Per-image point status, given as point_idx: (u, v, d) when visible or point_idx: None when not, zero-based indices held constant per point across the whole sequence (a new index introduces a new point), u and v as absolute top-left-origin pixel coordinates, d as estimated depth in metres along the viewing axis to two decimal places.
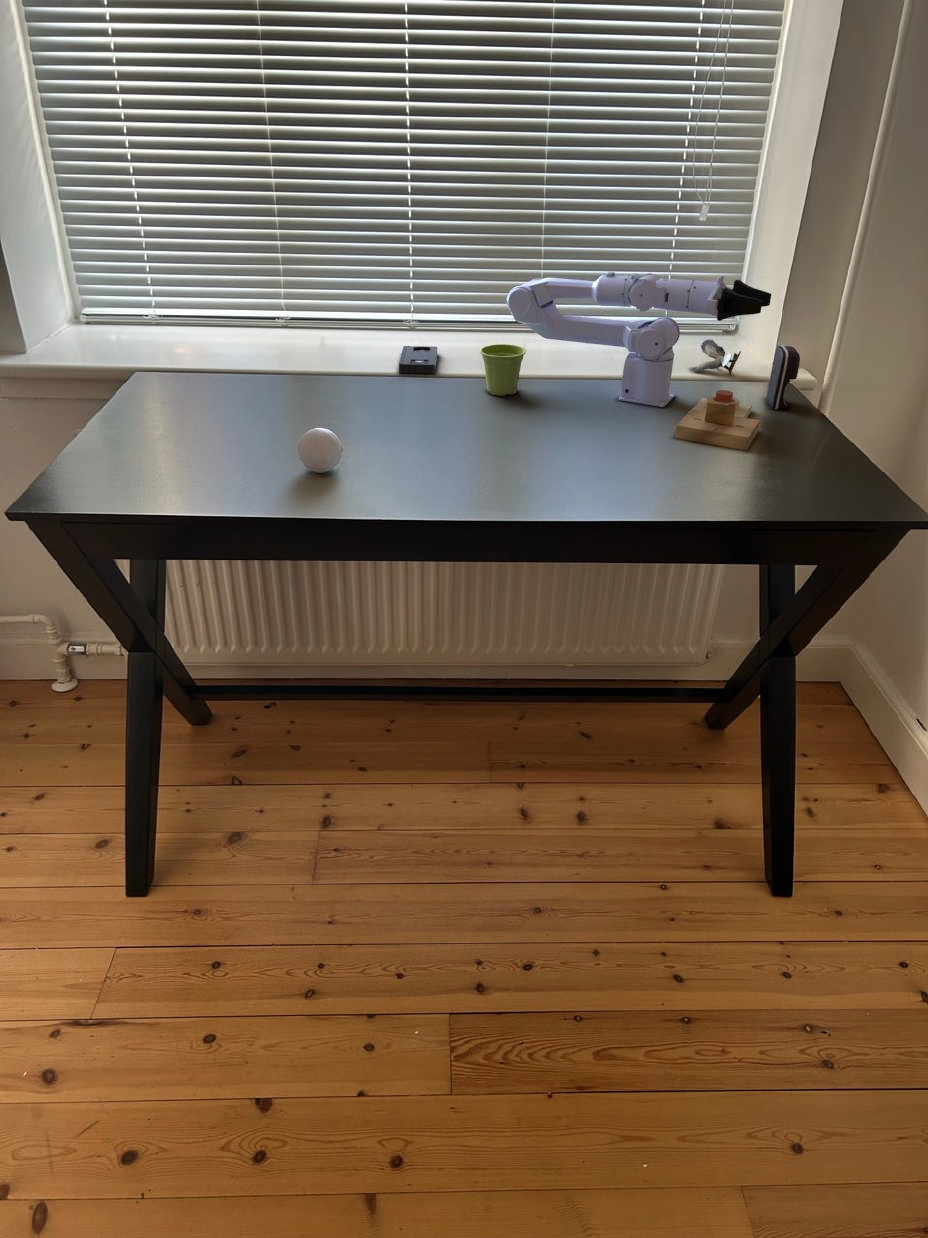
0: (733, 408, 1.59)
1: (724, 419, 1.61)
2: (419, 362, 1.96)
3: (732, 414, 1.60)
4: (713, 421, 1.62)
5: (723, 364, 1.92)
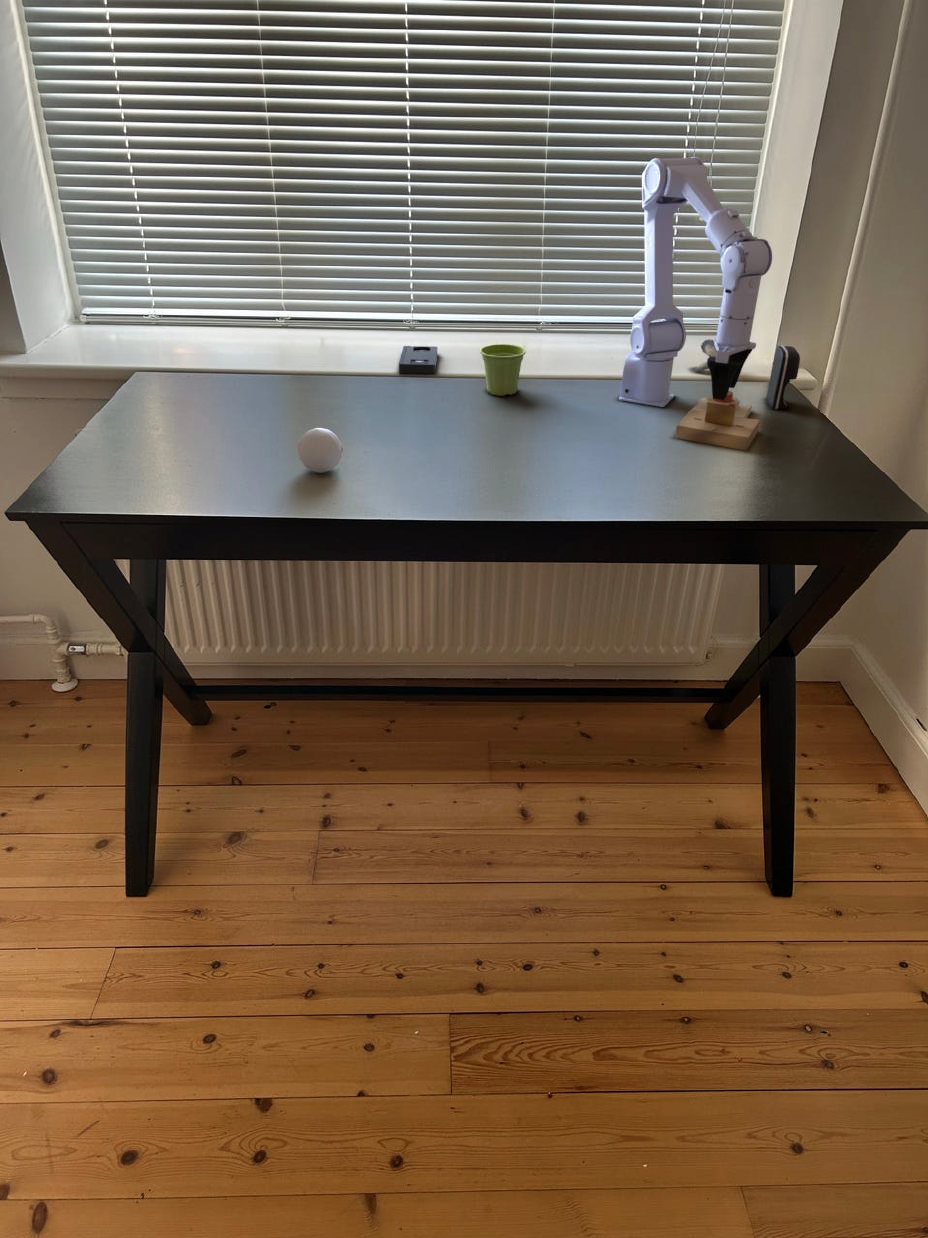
0: (733, 408, 1.59)
1: (724, 419, 1.61)
2: (419, 362, 1.96)
3: (732, 414, 1.60)
4: (713, 421, 1.62)
5: None
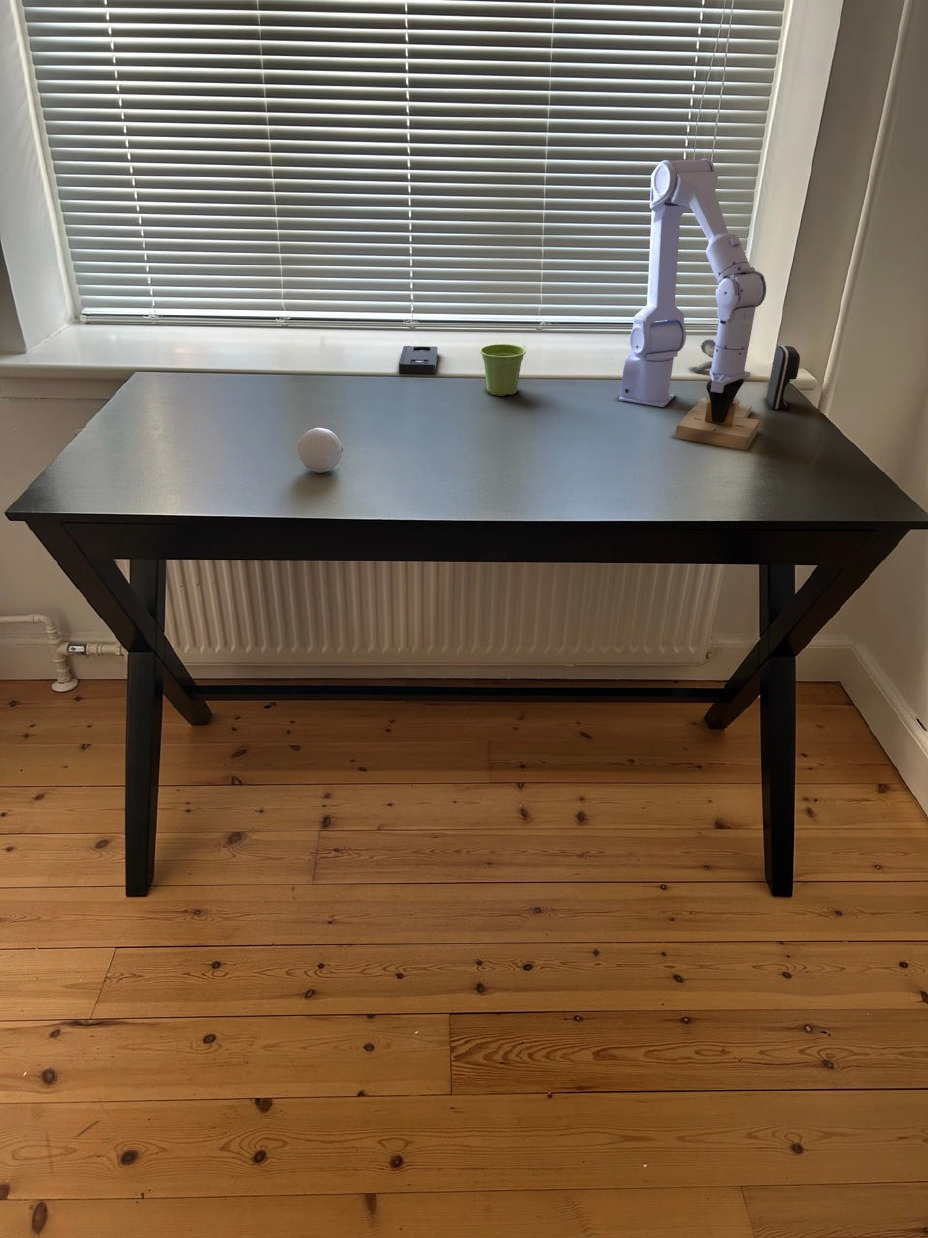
0: (733, 408, 1.59)
1: None
2: (419, 362, 1.96)
3: (732, 414, 1.60)
4: None
5: None
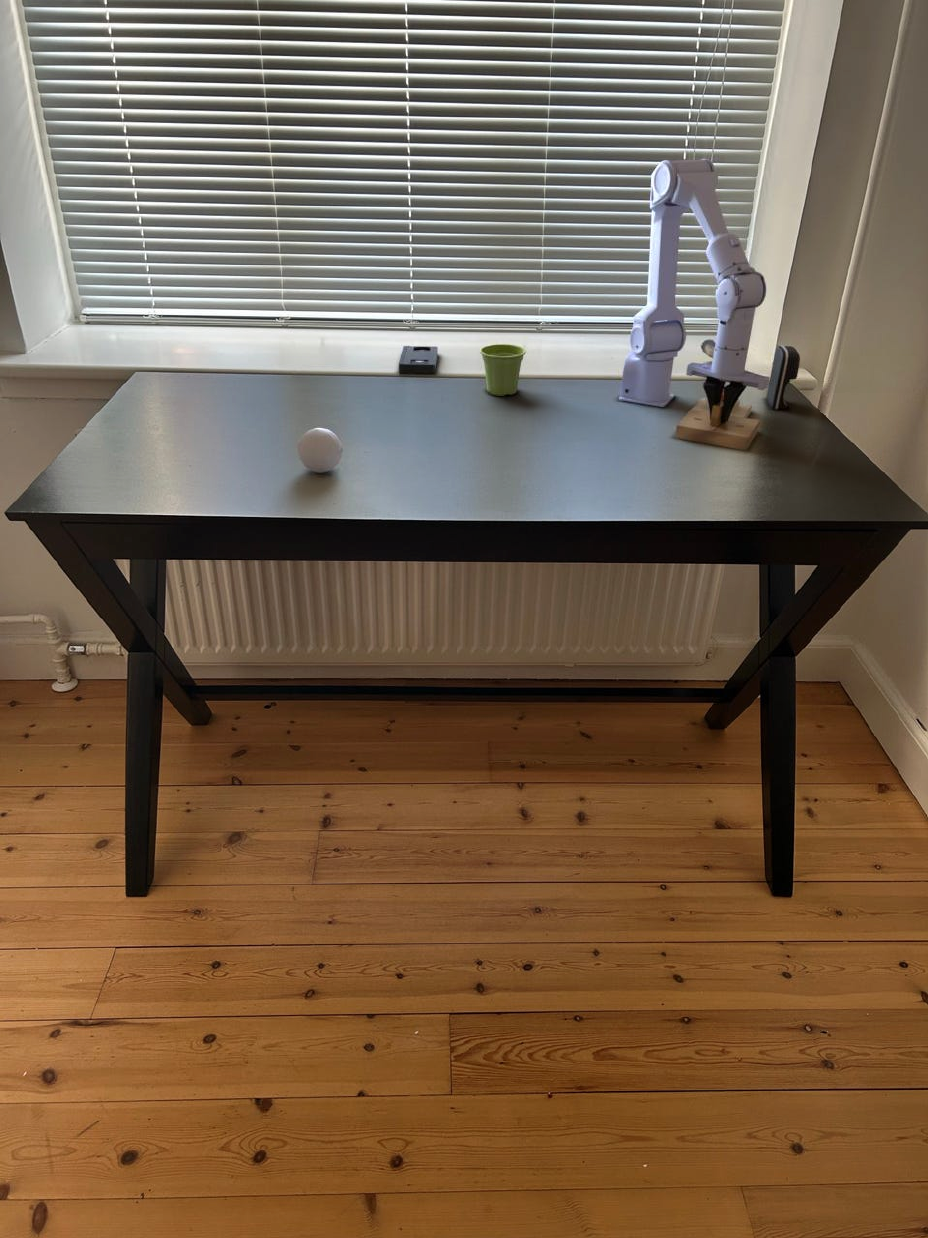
0: None
1: None
2: (419, 362, 1.96)
3: None
4: (720, 423, 1.61)
5: None
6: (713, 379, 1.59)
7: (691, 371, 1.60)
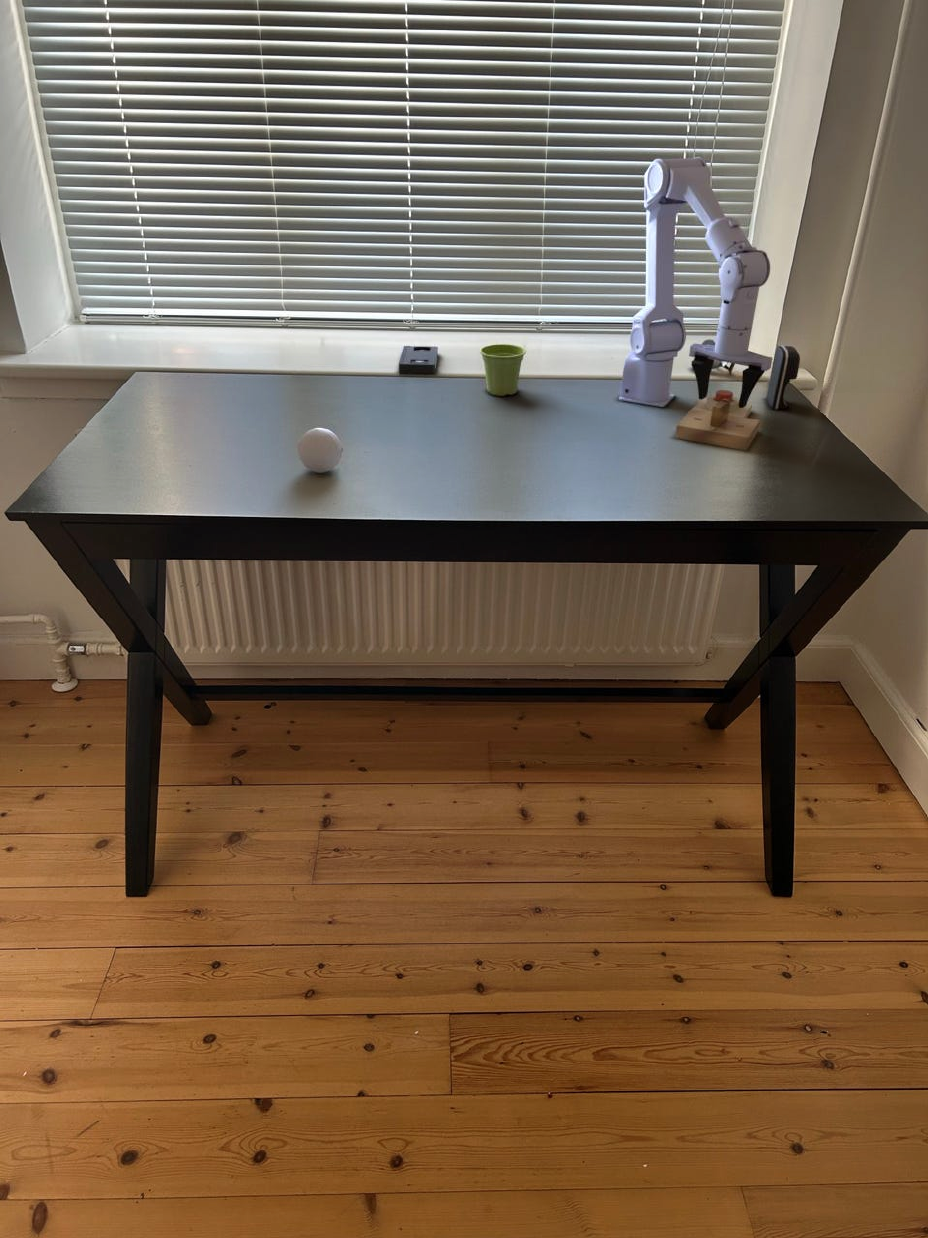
0: None
1: (725, 416, 1.62)
2: (419, 362, 1.96)
3: None
4: (720, 423, 1.61)
5: (723, 364, 1.92)
6: None
7: (694, 352, 1.59)
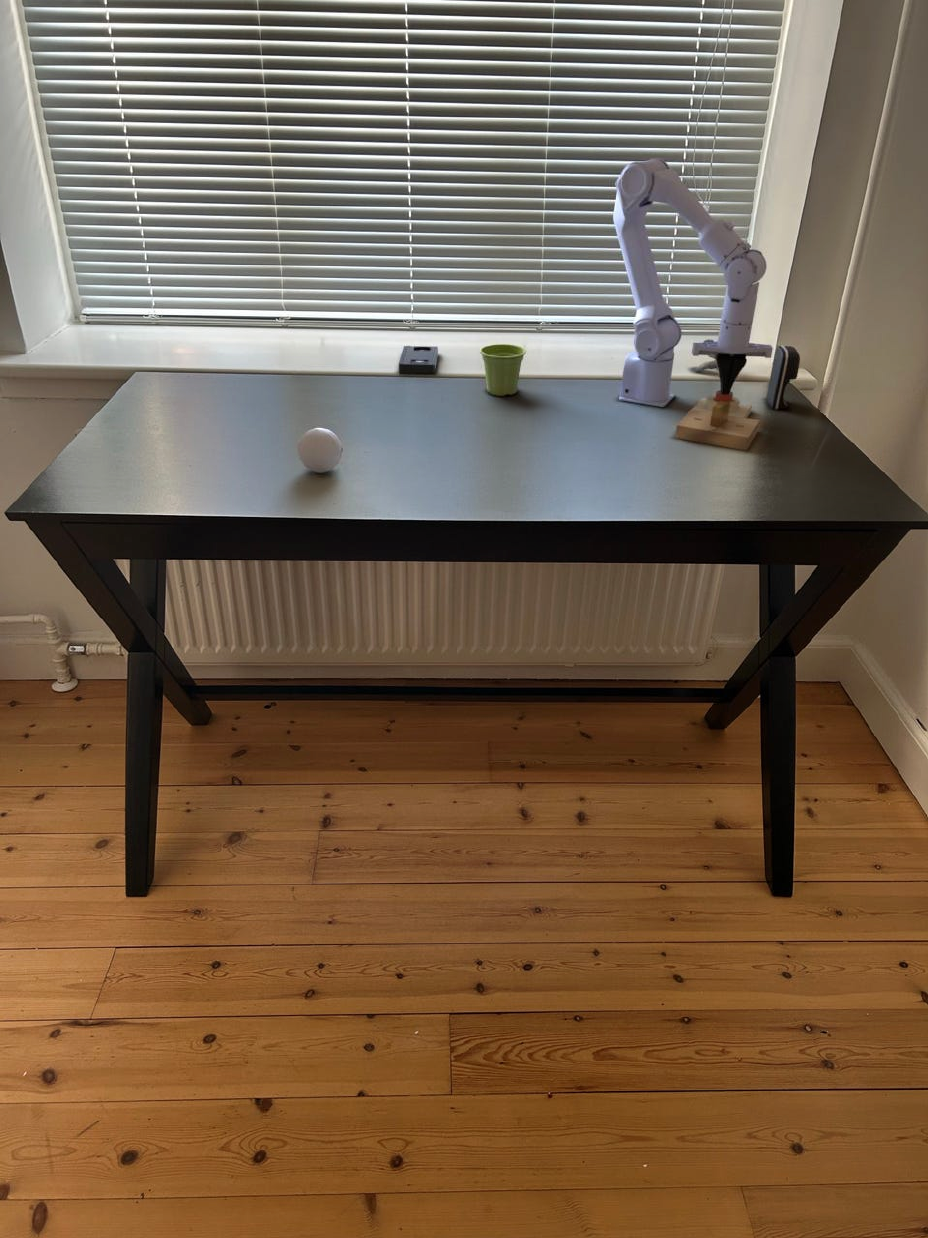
0: None
1: (725, 416, 1.62)
2: (419, 362, 1.96)
3: None
4: (720, 423, 1.61)
5: None
6: (721, 355, 1.67)
7: (698, 351, 1.67)
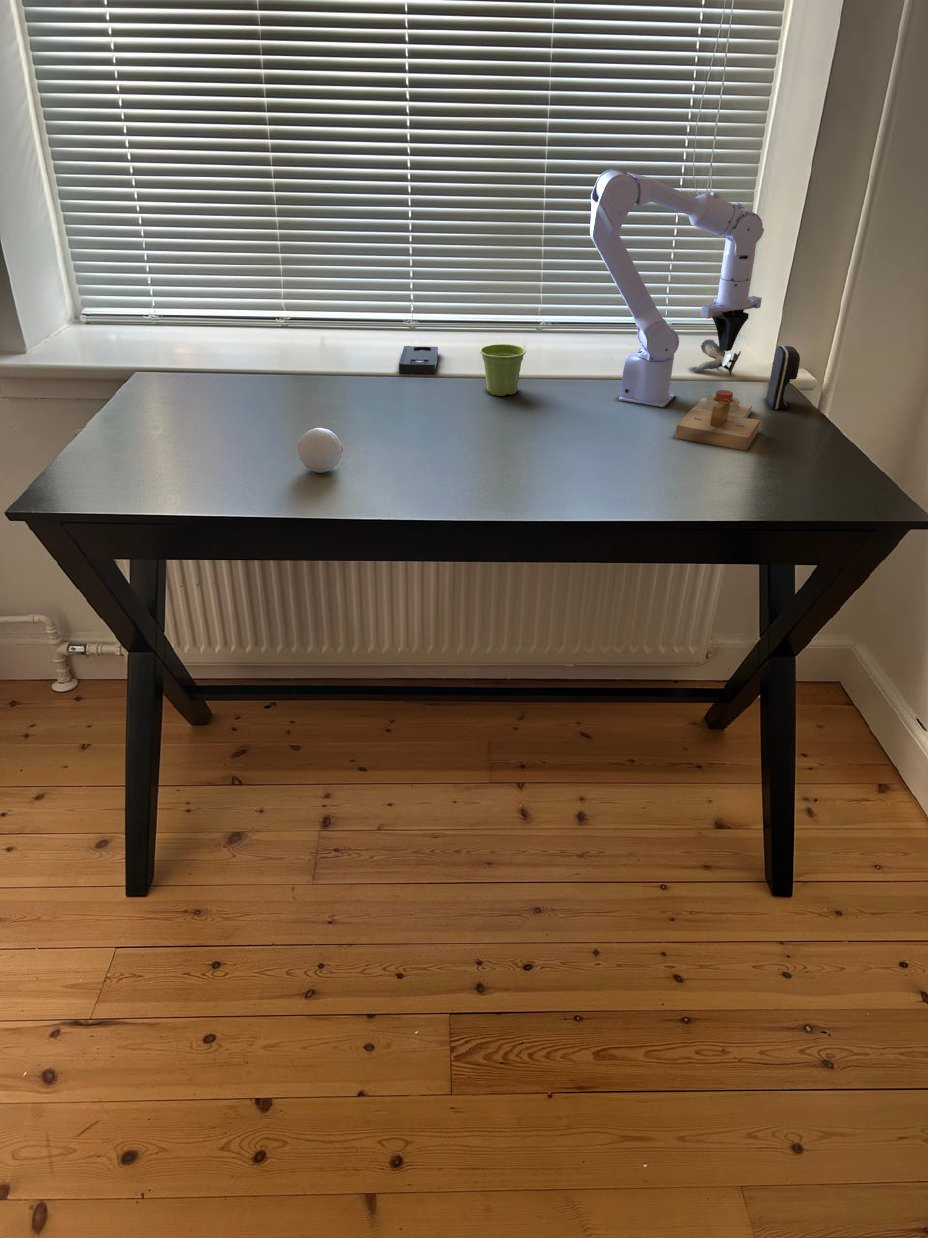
0: None
1: (725, 416, 1.62)
2: (419, 362, 1.96)
3: None
4: (720, 423, 1.61)
5: (723, 364, 1.92)
6: (726, 313, 1.70)
7: (711, 313, 1.68)
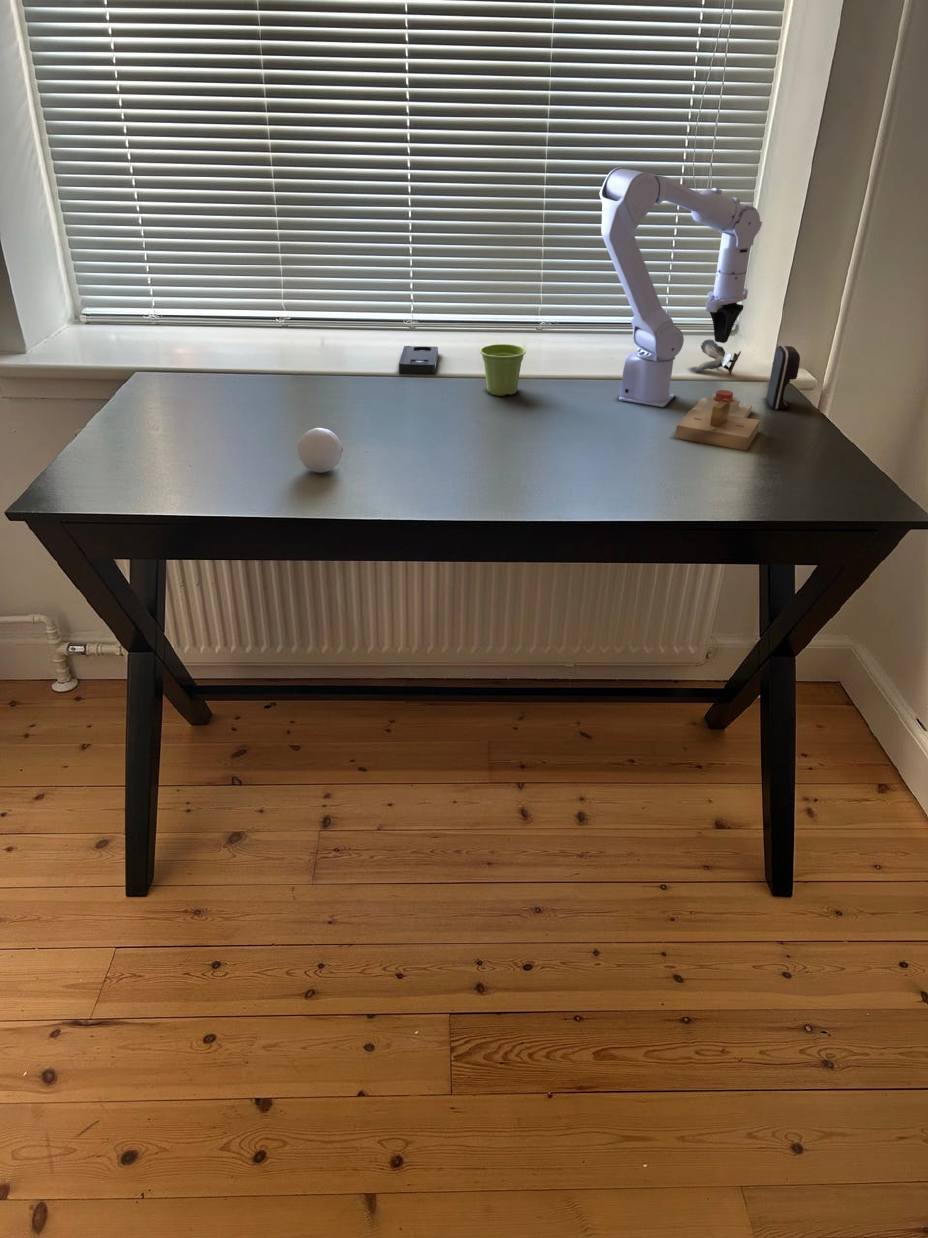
0: None
1: (725, 416, 1.62)
2: (419, 362, 1.96)
3: None
4: (720, 423, 1.61)
5: (723, 364, 1.92)
6: (726, 306, 1.74)
7: (717, 307, 1.71)
